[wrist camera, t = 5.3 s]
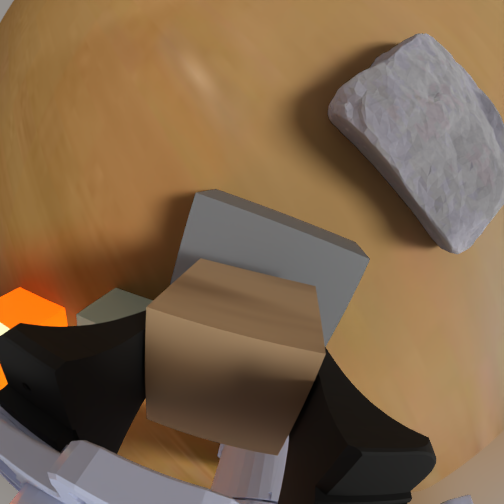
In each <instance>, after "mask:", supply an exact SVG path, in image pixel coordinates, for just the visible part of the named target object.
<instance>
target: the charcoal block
mask: <svg viewBox="0 0 504 504" xmlns="http://www.w3.org/2000/svg"><path fill="white" fill-rule="evenodd" d="M200 258H202V259H206V260H210V261H214V262H218V263H222V264H226V265H230V266H234V267H238V268H242V269H246V270H250V271H254V272H258V273H262V274H266V275H270V276H275V277H279V278H283V279H287V280H291V281H296V282H300V283H304V284H308V285H313V286H316V292H317V298H318V305H319V311H320V317H321V324H322V331H323V338H324V345H325V347H326V345H327V343H328V341H329V339H330V338H331V336H332V334H333V332H334V330H335V329H336V327H337V325H338V323H339V321H340V319H341V317H342V315H343V314H344V312H345V310H346V308H347V306H348V304H349V302H350V300H351V298H352V296H353V294H354V292H355V290H356V288H357V286H358V284H359V282H360V280H361V277H362V275H363V273H364V271H365V269H366V267H367V265H368V262H369V260H370V259H369V257H368V256H367V255H366V254H365V253H364V252H363V250H362V249H361V248H360V247H359V246H358V245H357V244H356V242H354V241H351V240H349V239H346V238H344V237H341V236H339V235H337V234H334V233H332V232H329V231H327V230H324V229H322V228H319V227H317V226H314V225H312V224H309V223H307V222H304V221H301V220H299V219H296V218H294V217H291V216H288V215H286V214H283V213H281V212H278V211H275V210H273V209H270V208H267V207H264V206H262V205H259V204H256V203H254V202H251V201H248V200H245V199H243V198H240V197H237V196H234V195H231V194H228V193H226V192H223V191H220V190H217V189H214V190H208V191H202V192H197V193H196V194H195V197H194V200H193V203H192V207H191V210H190V213H189V217H188V220H187V224H186V227H185V231H184V234H183V238H182V241H181V245H180V249H179V252H178V256H177V260H176V264H175V268H174V271H173V275H172V279H171V283H170V285H171V284H172V283H173V282H174V281H176V280H177V279H178V278H179V277H180V276H181V275H182V274H183V273H184V272H186V271H187V270H188V269H189V268H190V267H191V266H192V265H194V264H195V263H196V262H197V261H198V260H199V259H200Z"/></svg>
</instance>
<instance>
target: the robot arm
mask: <svg viewBox="0 0 504 504" xmlns="http://www.w3.org/2000/svg"><path fill="white" fill-rule="evenodd" d="M145 331H146V310H145V311H142V312H139V313H136V314H133V315H130V316H127V317H123V318H120V319H117V320H113V321H108V322H103V323H98V324H92V325H81V326H64V327H58V326H41V325H33V324H25V323H19V324H17V325H16V326H14V327H13V328H11V329H10V330H8V331H7V332H5V333H4V334H2V335H1V336H0V364H1V367H2V370H3V373H4V375H5V378H6V380H7V383H8V384H7V385H6V386H5V387H3V388H2V389H1V390H0V474H1V475H2V476H3V477H4V478H5V479H6V480H7V481H8V482H9V483H10V484H11V485H12V486H13V487H15V488H16V489H17V490H18V491H19V492H18V494H17V495H16V496H15V497H14V499H13V500H12V501H11V503H10V504H407V503H408V502H410V501H411V499H412V497H411V492H410V491H411V490H412V489H413V488H414V487H416V486H417V485H418V484H419V483H420V482H421V481H422V480H423V479H424V478H426V477H427V475H428V474H429V473H430V472H431V471H432V470H433V468H434V466H435V464H436V456H435V453H434V450H433V448H432V445H431V442H430V440H429V438H428V437H426V436H424V435H422V434H420V433H418V432H415V431H413V430H411V429H409V428H407V427H405V426H404V425H402V424H400V423H399V422H397V421H396V420H394V419H392V418H391V417H389V416H388V415H387V414H385V413H384V412H382V411H381V410H380V409H379V408H377V407H376V406H375V405H374V404H372V403H371V402H370V401H369V400H368V399H367V398H366V397H365V396H364V395H363V394H362V393H361V392H360V391H359V390H358V389H357V388H356V387H355V386H354V385H353V384H352V383H351V382H350V380H349V379H348V378H347V377H346V376H345V374H344V373H343V372H342V370H341V369H340V368H339V366H338V365H337V364H336V362H335V361H334V359H333V358H332V356H331V355H330V353H329V352H328V350H327V349H326V347H325V352H326V355H325V357H324V359H323V362H322V364H321V367H320V369H319V371H318V374H317V376H316V378H315V380H314V383H313V385H312V387H311V389H310V392H309V394H308V396H307V398H306V400H305V403H304V405H303V407H302V409H301V411H300V413H299V415H298V417H297V419H296V421H295V423H294V425H293V427H292V429H291V431H290V433H289V435H288V437H287V439H286V441H285V443H284V445H283V447H282V448H281V450H280V452H279V454H278V456H276V455H271V454H265V453H260V452H255V451H250V450H246V449H241V448H237V447H233V446H229V445H225V444H221V443H220V447H219V451H218V455H217V456H218V457H219V458H220V461H219V464H218V467H217V470H216V474H215V477H214V480H213V483H212V486H211V489H208V488H205V487H201V486H198V485H195V484H191V483H188V482H185V481H182V480H179V479H176V478H173V477H170V476H167V475H165V474H162V473H159V472H157V471H154V470H152V469H149V468H147V467H144V466H142V465H139V464H137V463H135V462H133V461H130V460H128V459H126V458H124V457H122V456H119V455H117V453H118V450H119V448H120V446H121V444H122V442H123V439H124V437H125V435H126V433H127V431H128V429H129V427H130V425H131V423H132V421H133V419H134V417H135V415H136V414H137V412H138V410H139V408H140V406H141V404H142V403H143V401H144V400H145V398H146V389H145ZM441 504H473V502H472V499H471V496H470V495H465V496H462V497H458V498H454V499H450V500H447V501H445V502H443V503H441Z"/></svg>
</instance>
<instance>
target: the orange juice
mask: <svg viewBox="0 0 504 504" xmlns="http://www.w3.org/2000/svg"><path fill="white" fill-rule="evenodd" d="M19 323H25V324H33V325H41V326H58V327H64V326H68V325H67V318H66V312H65V308H64V307H62V306H60V305H57V304H55V303H53V302H51V301H48V300H46V299H44V298H42V297H40V296H37V295H35V294H33V293H31V292H29V291H27V290H25V289H23V288H21V287H19V288H17V289H15V290H13V291H11V292H9V293H7V294H5V295H3V296H1V297H0V336H1V335H2V334H4V333H5V332H7V331H8V330H10V329H11V328H13V327H14V326H16V325H17V324H19ZM7 384H8V383H7V380H6V378H5V375H4V373H3V370H2V367H1V364H0V390H1V389H2V388H3V387H5V386H6V385H7Z"/></svg>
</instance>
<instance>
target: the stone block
mask: <svg viewBox="0 0 504 504" xmlns="http://www.w3.org/2000/svg"><path fill="white" fill-rule="evenodd" d="M328 108H329V109H328V117H329V120H330V121H331V122H332V124H333V125H335V126H336V127H337V128H338V129H339V130H340V132H341V133H342V134H343V135H344V136H345V137H347V138H348V139H349V140H350V141H351V142H352V143H353V144H354V145H355V146H356V147H357V148H358V150H359V151H360V152H361V153H362V154H363V155H364V156H365V157H366V158H367V159H368V160H369V161H370V162H371V163H372V164H373V165H374V167H375V168H376V169H377V170H378V171H379V172H380V174H381V175H382V176H383V177H384V178H385V179H386V181H387V182H388V183H389V184H390V185H391V186H392V188H393V189H394V190H395V191H396V192H397V194H398V195H399V196H400V197H401V198H402V200H403V201H404V202H405V203H406V205H407V206H408V207H409V208H410V209H411V210H412V212H413V213H414V215H415V216H416V217H417V219H418V220H419V221H420V223H421V224H422V225H423V227H424V228H425V230H426V231H427V233H428V234H429V235H430V237H431V238H432V239H433V240H434V241H435V242H436V243H437V244H438V246H439V247H440V248H441V249H444V250H446V251H448V252H451V253H454V254H459V253H461V252H463V251H465V250H467V249H468V248H470V247H471V246H472V245H473V244H474V242H475V240H476V239H477V238H478V237H479V236H480V235H481V234H482V232H483V231H484V229H485V227H486V226H487V225H488V224H489V223H490V221H491V220H492V219H493V217H494V216H495V215H496V214H497V212H498V211H499V209H500V208H501V207H502V206H503V205H504V124H503V121H502V118H501V116H500V114H499V112H498V111H497V109H496V108H495V106H494V104H493V103H492V102H491V100H490V99H489V98H488V97H487V96H486V95H485V93H484V92H483V91H482V90H481V89H479V88H478V87H477V85H476V83H475V82H474V81H473V79H472V77H471V76H470V75H469V74H468V73H467V72H466V71H465V69H464V68H463V67H462V66H461V65H459V64H458V63H457V62H455V60H454V59H453V57H452V55H451V54H450V53H449V52H448V51H447V50H446V49H445V48H444V47H443V46H442V45H441V44H440V43H438V42H437V41H436V40H435V39H434V38H433V37H431V36H429V35H428V34H423V33H422V34H415V35H414V36H412V37H410V38H408V39H405V40H404V41H402V42H401V43H399V44H398V45H397V46H395V47H393V48H392V49H391V50H390V51H388V52H385V53H383V54H381V55H380V56H379V57H377V58H376V59H375V61H374V62H373V64H372V65H371V67H370V68H369V69H366V70H364V71H362V72H360V73H358V74H357V75H356V76H354V77H353V78H352V79H350V80H349V81H348V82H346V83H345V84H343V85H342V86H341V87H340V88H339V89H338V90H337V92H336V94H335V96H334V98H333V99H332V101H331V102H330V104H329V107H328Z"/></svg>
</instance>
